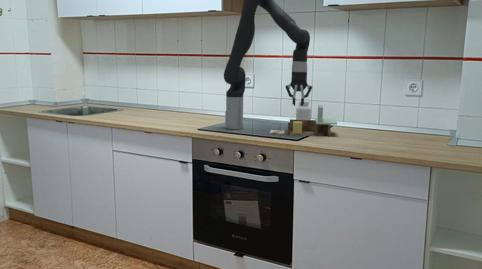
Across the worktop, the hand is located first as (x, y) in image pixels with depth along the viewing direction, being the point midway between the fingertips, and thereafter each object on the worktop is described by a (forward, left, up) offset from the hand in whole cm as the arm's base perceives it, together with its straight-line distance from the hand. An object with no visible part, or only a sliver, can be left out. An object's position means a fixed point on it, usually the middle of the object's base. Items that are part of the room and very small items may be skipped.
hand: (298, 105), depth 225 cm
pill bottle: (+3, +20, -15) cm, 25 cm away
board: (+1, 0, -15) cm, 15 cm away
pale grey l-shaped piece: (+14, 0, -8) cm, 16 cm away
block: (0, 0, -14) cm, 14 cm away
